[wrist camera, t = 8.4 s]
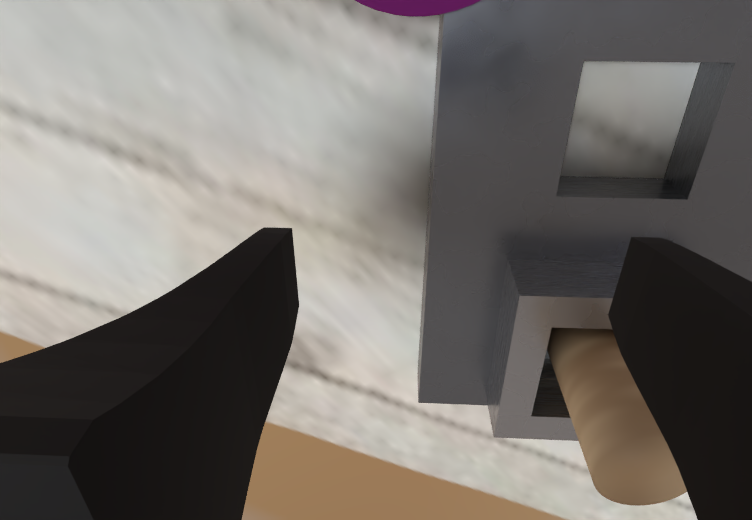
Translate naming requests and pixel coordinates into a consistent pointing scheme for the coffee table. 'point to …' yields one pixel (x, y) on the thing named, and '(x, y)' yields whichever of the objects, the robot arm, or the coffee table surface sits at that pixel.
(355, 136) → the coffee table surface
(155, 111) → the coffee table surface
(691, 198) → the mount plate
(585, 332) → the pin
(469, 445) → the coffee table surface
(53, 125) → the coffee table surface
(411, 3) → the mounting bracket
